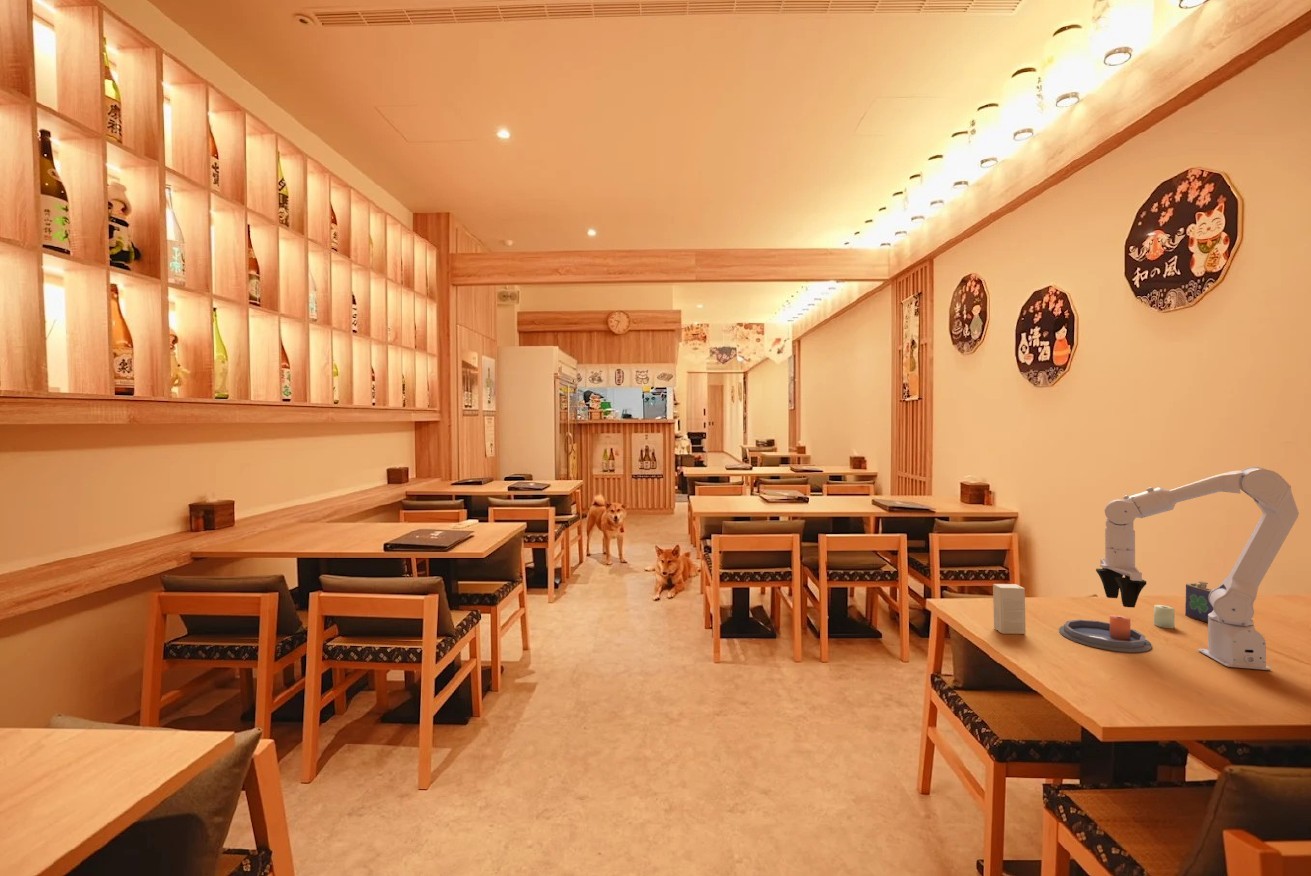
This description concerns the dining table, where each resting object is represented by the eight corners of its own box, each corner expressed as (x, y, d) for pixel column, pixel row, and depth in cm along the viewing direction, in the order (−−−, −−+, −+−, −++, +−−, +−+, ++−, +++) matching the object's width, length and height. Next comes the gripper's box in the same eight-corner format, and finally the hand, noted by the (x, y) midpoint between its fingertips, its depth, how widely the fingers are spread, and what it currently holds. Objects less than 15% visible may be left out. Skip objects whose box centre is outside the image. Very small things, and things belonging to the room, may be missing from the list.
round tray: (1169, 655, 127) (1169, 647, 127) (1079, 648, 132) (1078, 640, 132) (1125, 628, 145) (1125, 621, 145) (1047, 623, 149) (1047, 616, 149)
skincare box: (1016, 628, 146) (1016, 583, 146) (1026, 634, 141) (1025, 588, 141) (992, 628, 146) (992, 583, 146) (1001, 634, 142) (1000, 587, 142)
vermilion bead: (1134, 641, 135) (1134, 620, 135) (1115, 639, 136) (1115, 619, 136) (1124, 635, 139) (1124, 615, 139) (1106, 634, 140) (1106, 614, 140)
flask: (1226, 625, 146) (1225, 585, 146) (1215, 626, 146) (1215, 586, 146) (1191, 614, 156) (1190, 576, 155) (1181, 614, 155) (1180, 577, 155)
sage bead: (1178, 628, 144) (1178, 609, 144) (1162, 628, 145) (1162, 608, 145) (1166, 623, 148) (1166, 605, 148) (1150, 623, 149) (1150, 604, 149)
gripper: (1086, 541, 145) (1087, 592, 145) (1117, 553, 131) (1117, 609, 131) (1118, 542, 143) (1118, 594, 144) (1152, 554, 129) (1152, 612, 130)
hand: (1120, 602), depth 137 cm, fingers open, 7 cm apart
